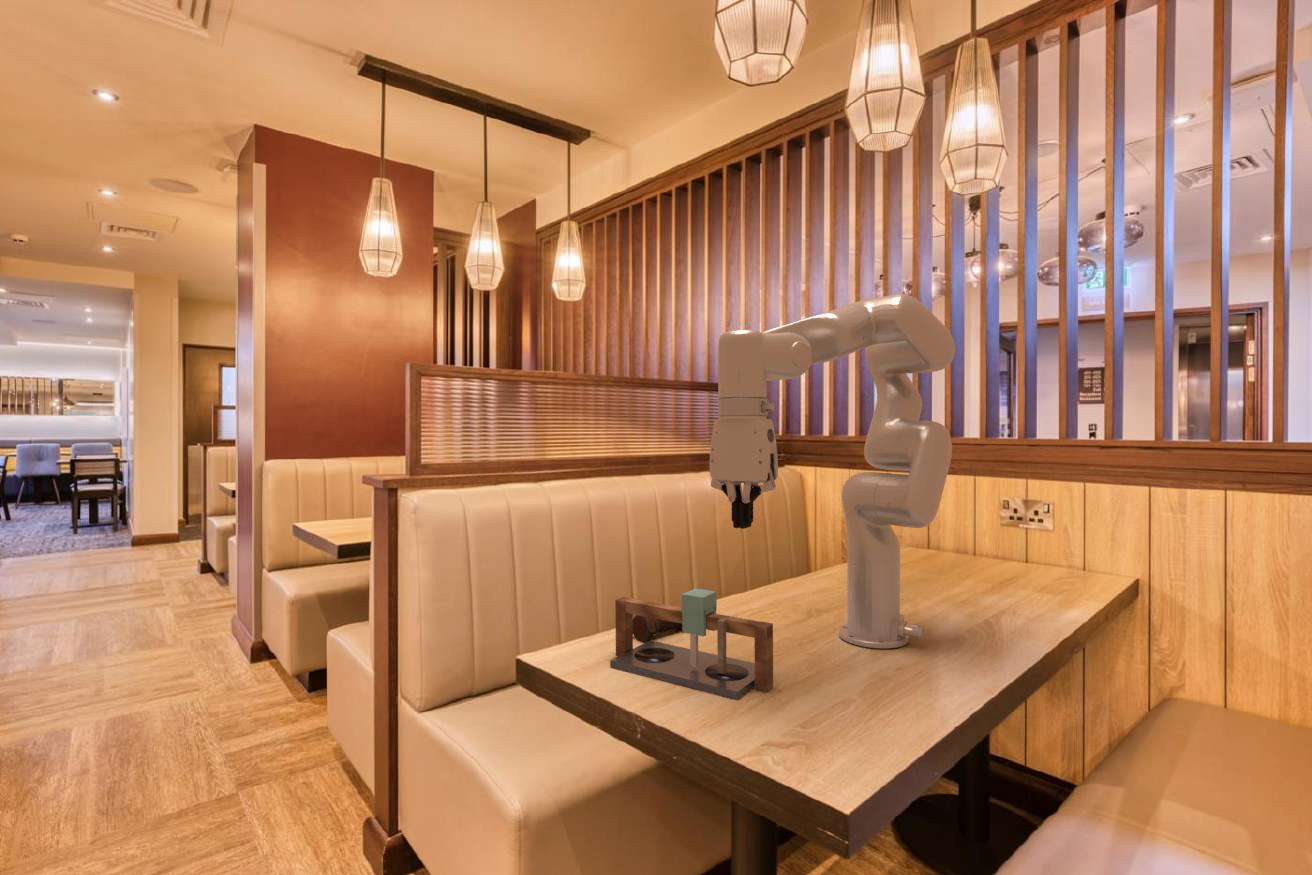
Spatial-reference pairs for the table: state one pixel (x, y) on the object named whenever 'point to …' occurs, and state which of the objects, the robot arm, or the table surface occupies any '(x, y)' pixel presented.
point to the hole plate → (688, 669)
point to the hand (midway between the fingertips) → (742, 527)
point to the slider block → (696, 617)
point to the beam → (713, 621)
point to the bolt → (651, 627)
